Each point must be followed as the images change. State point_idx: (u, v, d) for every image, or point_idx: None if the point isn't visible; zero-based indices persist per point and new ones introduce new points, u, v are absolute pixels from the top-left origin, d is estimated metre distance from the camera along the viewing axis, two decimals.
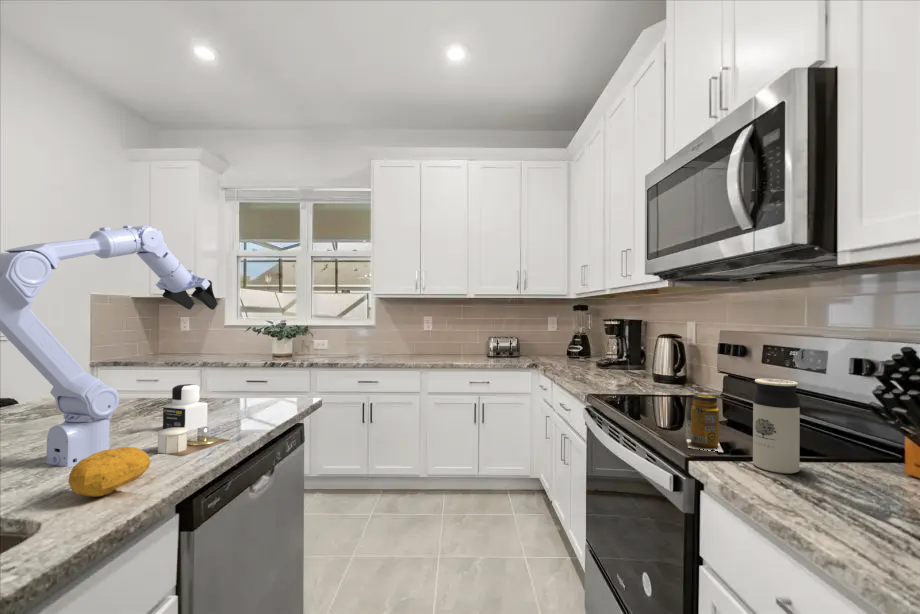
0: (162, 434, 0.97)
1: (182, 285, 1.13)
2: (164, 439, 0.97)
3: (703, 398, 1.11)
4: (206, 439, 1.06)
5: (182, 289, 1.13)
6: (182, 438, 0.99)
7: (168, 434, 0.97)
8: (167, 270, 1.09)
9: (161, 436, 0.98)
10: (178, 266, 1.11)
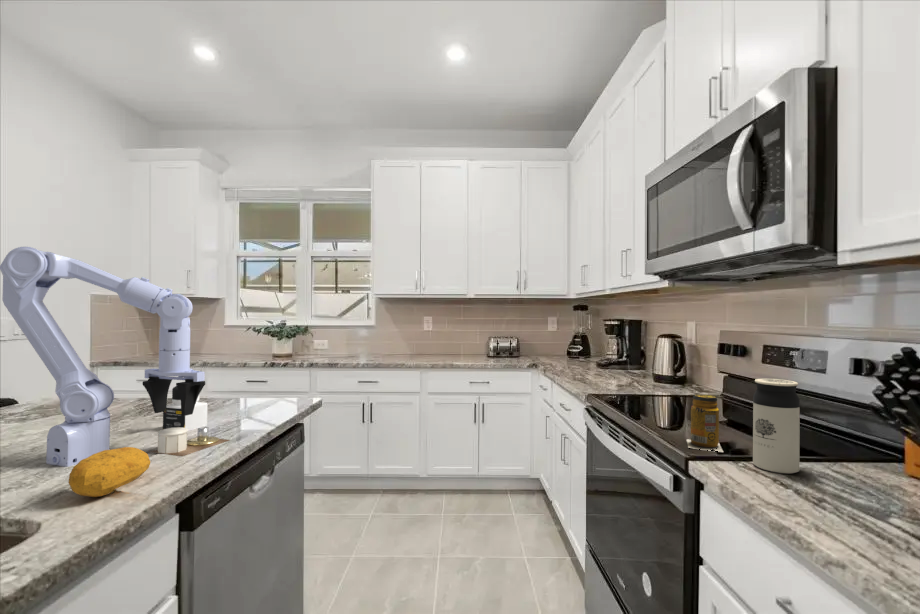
0: (162, 434, 0.97)
1: (175, 370, 0.98)
2: (164, 439, 0.97)
3: (703, 398, 1.11)
4: (206, 439, 1.06)
5: (172, 373, 0.97)
6: (182, 438, 0.99)
7: (168, 434, 0.97)
8: (162, 345, 0.98)
9: (161, 436, 0.98)
10: (186, 349, 1.00)
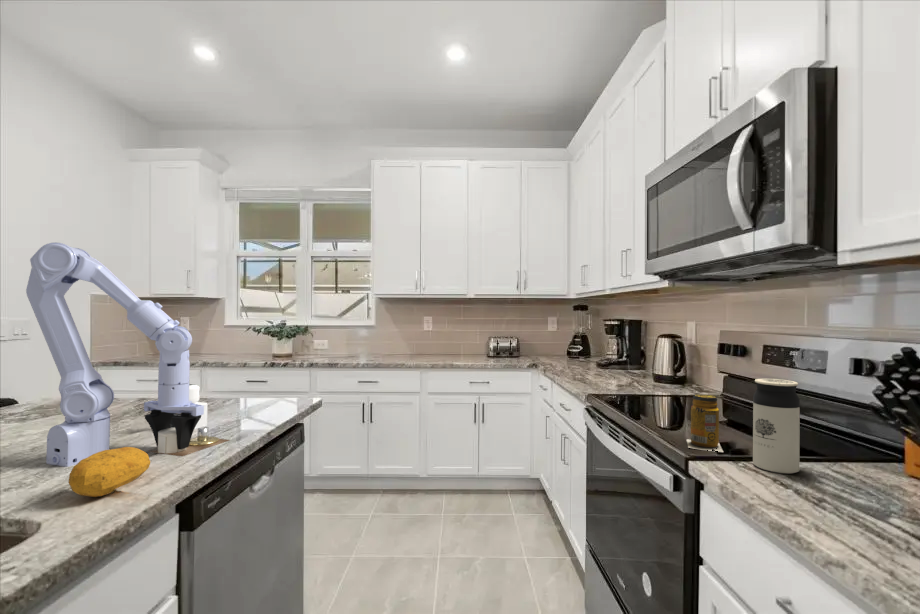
0: (162, 434, 0.97)
1: (174, 404, 0.98)
2: (164, 439, 0.97)
3: (703, 398, 1.11)
4: (206, 439, 1.06)
5: (171, 408, 0.97)
6: None
7: (168, 434, 0.97)
8: (161, 379, 0.97)
9: (161, 436, 0.98)
10: (186, 383, 1.00)
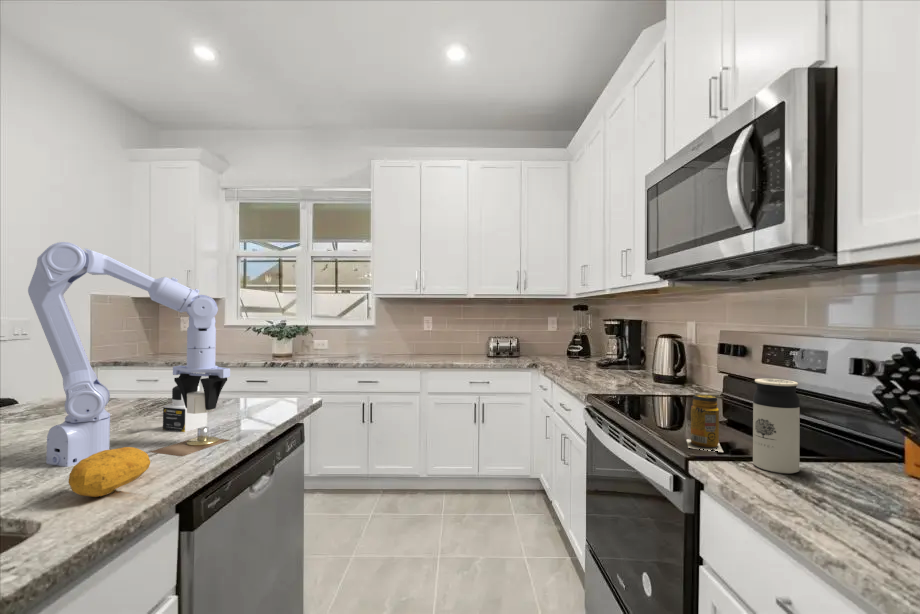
0: (191, 395, 1.03)
1: (202, 367, 1.03)
2: (193, 400, 1.03)
3: (703, 398, 1.11)
4: (206, 439, 1.06)
5: (200, 370, 1.02)
6: None
7: (196, 395, 1.03)
8: (192, 344, 1.03)
9: (190, 397, 1.03)
10: (213, 347, 1.05)
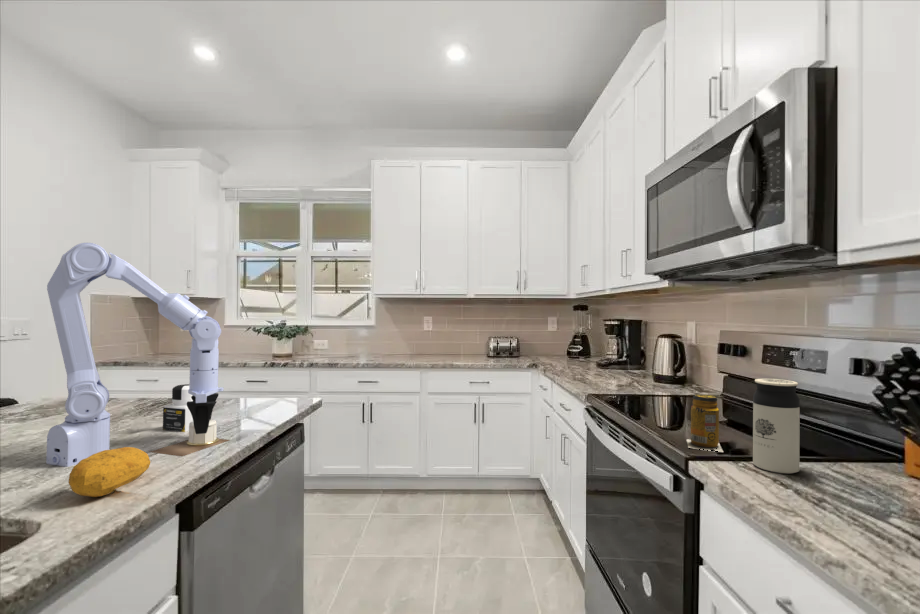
0: None
1: (194, 389, 1.03)
2: None
3: (703, 398, 1.11)
4: None
5: (190, 392, 1.03)
6: None
7: (190, 424, 1.04)
8: (195, 365, 1.03)
9: None
10: (205, 370, 1.04)
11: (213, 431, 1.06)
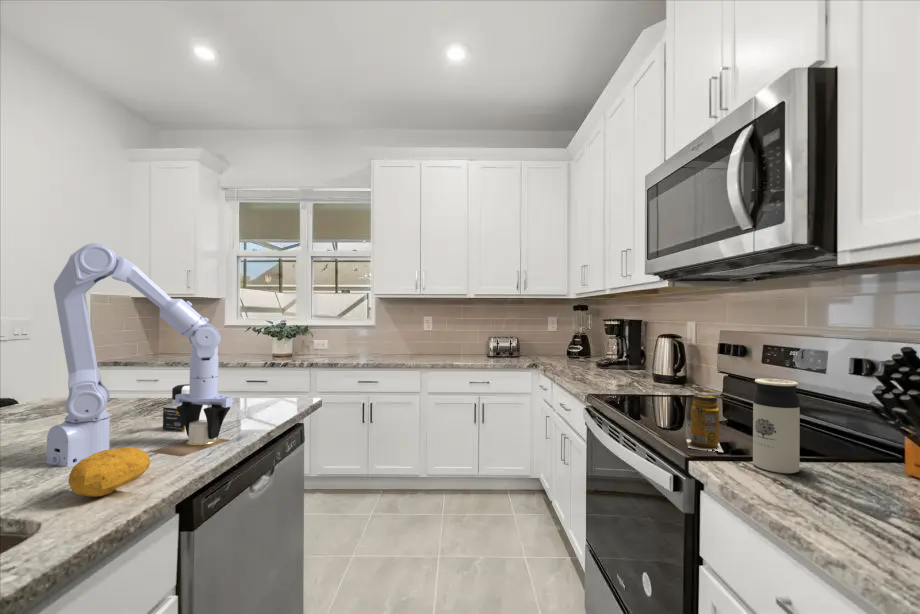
0: None
1: (205, 396, 1.04)
2: None
3: (703, 398, 1.11)
4: None
5: (202, 400, 1.03)
6: (199, 431, 1.03)
7: (190, 424, 1.04)
8: (195, 373, 1.03)
9: None
10: (215, 376, 1.06)
11: None
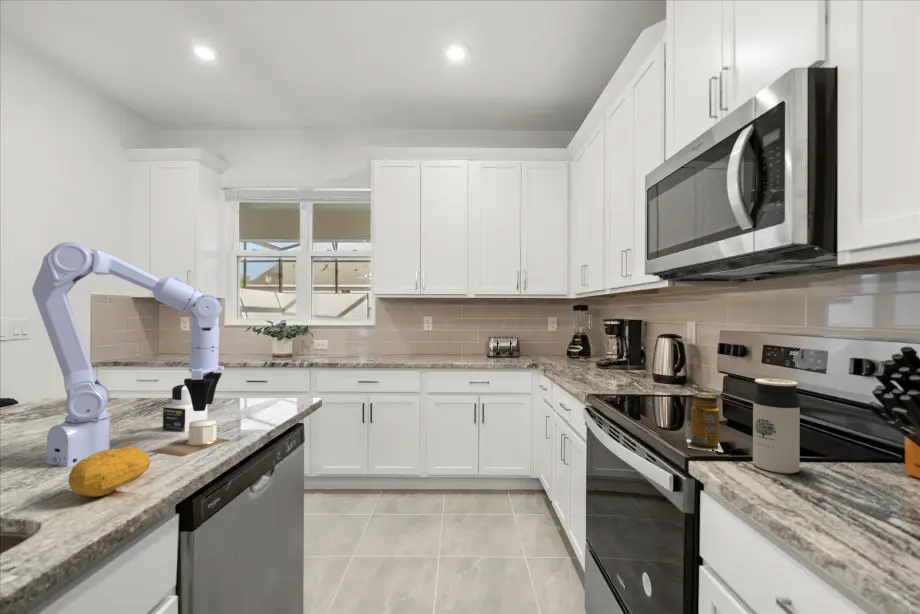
0: None
1: (193, 366, 1.04)
2: None
3: (703, 398, 1.11)
4: None
5: (189, 369, 1.03)
6: (190, 430, 1.04)
7: None
8: (196, 343, 1.03)
9: None
10: (204, 348, 1.04)
11: (202, 433, 1.04)
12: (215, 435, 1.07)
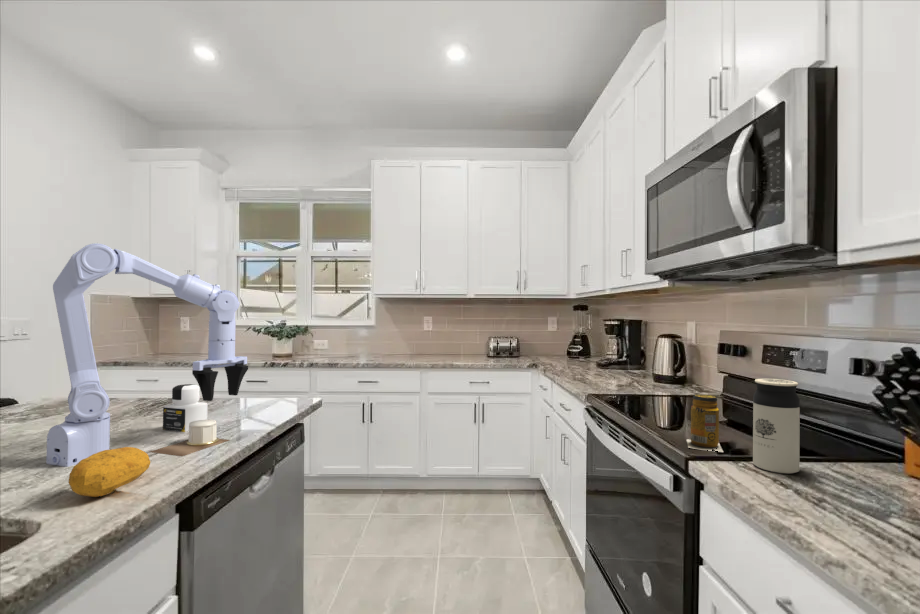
0: None
1: (208, 358, 1.09)
2: None
3: (703, 398, 1.11)
4: None
5: None
6: (190, 430, 1.04)
7: None
8: (215, 336, 1.08)
9: None
10: (214, 340, 1.08)
11: (202, 433, 1.04)
12: (215, 435, 1.07)
